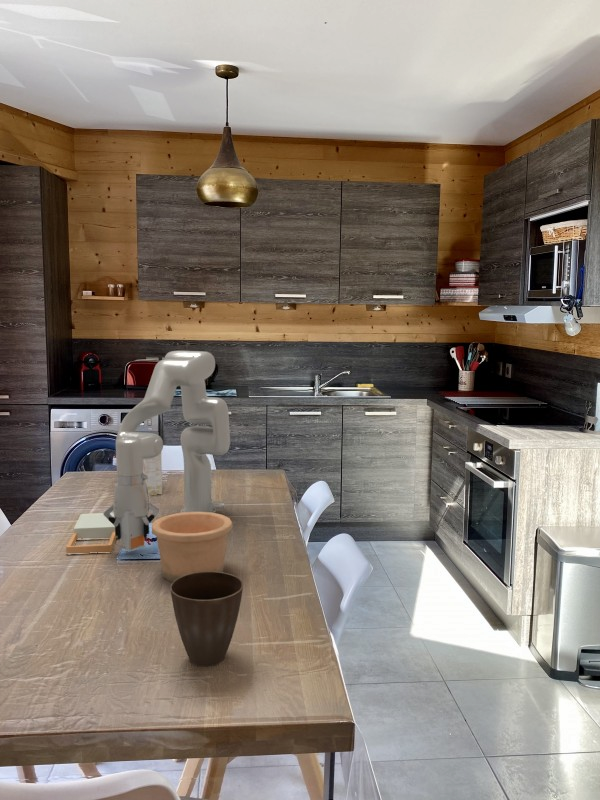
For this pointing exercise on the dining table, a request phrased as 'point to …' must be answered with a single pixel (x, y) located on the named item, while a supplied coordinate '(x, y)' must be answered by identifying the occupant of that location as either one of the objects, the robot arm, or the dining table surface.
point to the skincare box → (131, 531)
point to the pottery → (191, 542)
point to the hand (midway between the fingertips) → (132, 536)
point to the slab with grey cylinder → (92, 533)
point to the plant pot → (206, 613)
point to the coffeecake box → (153, 474)
